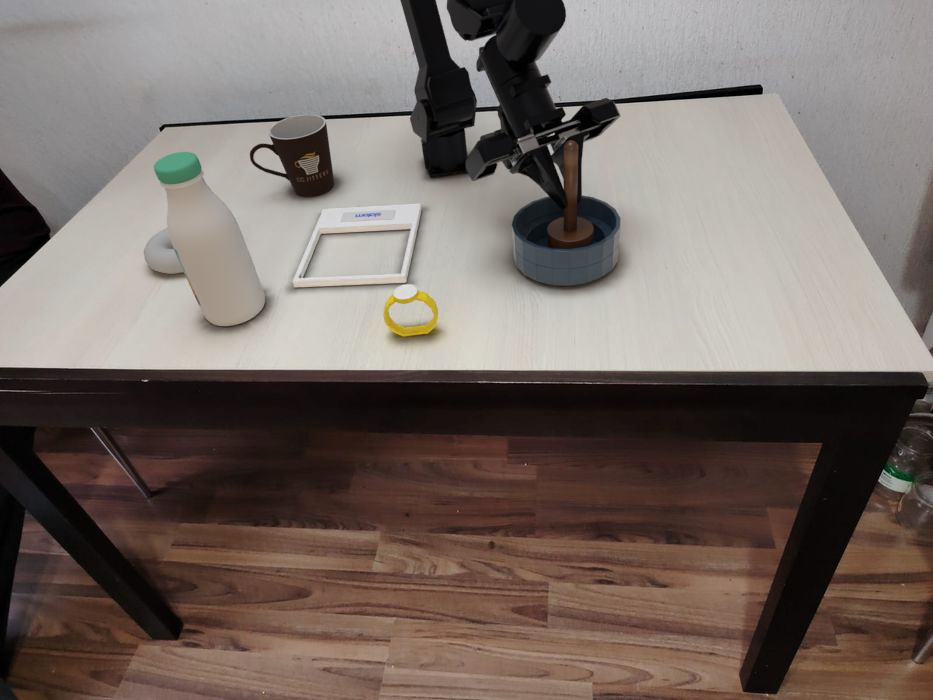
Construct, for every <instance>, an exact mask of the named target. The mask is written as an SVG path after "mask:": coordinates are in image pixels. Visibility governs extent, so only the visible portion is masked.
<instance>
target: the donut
mask: <svg viewBox="0 0 933 700" xmlns="http://www.w3.org/2000/svg"><path fill="white" fill-rule="evenodd" d="M143 257H144V261H145V263H146V265H148V266H149V268H151V269H152V270H154V271H155V272H159V273H162V274H166V275H167V274H169V275H170V274H171V275H173V274H174V275H175V274H181V273H184V271H183V269H182V267H181V265H180V262H179V260H178V258H177V256H176V253H175V251H174V248H173V246H172V243H171V241H170V237H169V234H168V228H167V227H166V228H164V229H162V230H160V231H158V232H157V233H155V234H154V235H152V236H151V237H150V239H148V240H147V242H146V244H145V246H144V249H143Z"/></svg>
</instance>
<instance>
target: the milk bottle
mask: <svg viewBox="0 0 933 700" xmlns="http://www.w3.org/2000/svg"><path fill="white" fill-rule="evenodd" d="M202 168H203V167H202V165H201V162H200V159H199V157H198V155H197V154H195V153H193V152H190V151H179V152H173V153H170V154H167V155H165V156H163V157H161V158H160V159H158V160H157V161H156V162H155V163H154V165H153V170H154V174H155V176H156V178H157V180H158V181H159V185H160V186H161V187H162V188H164V190H165V194H166V199H167V216H166V225H167V226H166V228H168V234H169V237H170V241H171V243H172V246H173V248H174V251H175V253H176V256H177V258H178V260H179V262H180V265H181V267H182V269H183V271H184V272H183V274H184V275H185V278H186V280H187V282H188V284H189V287H190V289H191V291H192V294H193V295H194V297H195V300H196V302H197V304H198V306H199V310H201V312H202V314H203V317H204V318H205V320H206V321H208V322H209V323H211V325H212V324H213V325H214V326H220V327H231V326H237V325H239V324H243V323H246V322H248V321H250V320H252V319H253V318H255V317H256V316H257V315H258V314H260V313H261V311H262V310H263V308H264V307H265V303H266V295H265V291H264V289H263V286H262V282H261V281H260V278H259V275H258V273H257V270H256V266H255V264H254V262H253V259H252V256H251V253H250V251H249V249H248V245H247V243H246V241H245V238H244V235H243V233H242V231H241V228H240V226H239V223H238V221H237V218H236V217H235V215H234V213H233V212H232V211H231V209H230V208H229V206H228V205H227V204H226V203H225V202H224V200H222V199H221V198H220V197H219V196H218V195H217V194H216V193H215V192H214V191H213V190H212V188H211V187H210V186H209V185H208V183H207V182H206V180H205V178H204V175H205V172H204V170H203V169H202Z"/></svg>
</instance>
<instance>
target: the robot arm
mask: <svg viewBox="0 0 933 700" xmlns="http://www.w3.org/2000/svg"><path fill="white" fill-rule="evenodd" d="M400 4H401V7H402V11H403V15H404V18H405V22H406V26H407V29H408V33H409V37H410V39H411V40H410V41H411V44H412V47H413V50H414V54H415V57H416V61H417V65H418V72H417V77H416V80H415V85H414V96H415V101H416V103H415V105H414V108H413V110H412V112H411V115H410V117H409V122H410V124H411V128H412V132H413V133H414V134H415V135H416V136H418V137H419V138H420V145H421V150H422V151H421V152H422V156H423V164H424V170H427V171H428V175H429V176H428V177H429V178H438V177H444V176H445V177H446V176H451V175H452V176H453V175H459V174H466V173H468V176H469V178H470V180H471V182H475V181H479V180H481V179H485V178H488V177H490V176H493V175H494V174H495V172H496V170H497V167H498V163H502V164H503V166H504V167H505V168H506V170H508V172H509V174H511V175H515V174H520V175H523V176H525V177H528V178H529V179H530V180H531V181H532V182H534V183H535V184H536V185H537V186H539V188H540V189H541V190H542V191H543V192H544V193H545V194H546V195H547V197H548V196H549V197H550V198H551V199H552V200H553V201H554V202H555V203H556V204H557V205H558V206H559V207H560V208H561V209H565V208H566V207H567V206H568V203H567V199H566V195H565V192H564V185H563V183H562V182H561V179H560V176H559V173H558V171H557V168H556V166H557V167H558V170H559V172H560V175H561V177H562V179H563V180H564V145H565V143H566V142H567V141H570V140H572V141H575V142H576V143H577V144H578V193H577V204H578V203H579V202H581V200H582V195H583V193H582V192H583V191H582V188H583V183H582V182H583V181H582V179H583V177H582V176H583V175H582V172H583V171H582V166H583V165H582V163H583V153H584V143H586V142H588V141H591V140H594V139H596V138H598V137H600V136H601V135H603V134H604V133H605V132H606V131H607V130H608V129H609V128H610V127H611V126H612V125H613V124H614V123H615V122H616V121H617V120H618V119H619V118H620V117H621V114H620V111H619V109H618V107H617V105H616V103H615V102H614V100H612V99H609V98H607V97H605V98H601V99H599V100H596V101H592V102H590V103H589V102H588V103H587V104H583V105H582V106H581V107H580V108H579V109H578V111H577V112H576V113H575V114H574V115H572V117H571V118H570V119H568V120H565V121H562V120H563V119H564V118H565V117H566V115H567V113H566V111H565V109H564V107H563V106H560V107H558V108H557V107H556V105H555V103H554V100H553V97H552V96H551V93H550V92H549V89H548V88H549V87H550V85H551V84H552V81H551V78H550V76H549V74H548V73H547V74H544V75H542V73H541V71H540V69H539V66H538V65H537V61H538V60H540V59H541V58H542V57H543V56H544V54H545V52H546V51H547V50H548V48H549V47H550V45H551V44H552V43H553V41H554V40H555V38H556V37H557V36H558V34H559V32H560V31H561V30H562V28H563V26H564V24H565V22H566V17H567V9H566V6H565V3H564V1H563V0H446V11H447V13H448V15H449V18H450V22H451V25H452V27H453V29H454V31H455V33H457V34H458V35H459V37H460V38H461V39H462V40H463V41H468V42H472V41H476V40H477V41H478V40H480V39H484V38H487V37H490V38H488V40H487V41H486V42H485V44H484V45H483V46H480V47H479V48H478V57H477V60H476V64H475V65H476V71H477V72H478V73H482V72H485V74H486V76H487V78H488V81H489V83H490V85H491V88H492V90H493V93H494V95H495V96H496V99H497V102H498V103H499V104H498V106H497V108H496V111H497V116H498V119H499V122H500V123H499V124H500V128H499V129H497V130H494V131H492V132H489V133H486V134H483V135H480V137H479V140H478V141H476V143H475V145H473V147H472V149H470V150H471V151H470V152H469V154H468V148H467V147H468V146H467V138H466V137H467V136H466V129H468V128H473V127H475V124H476V114H477V106H478V105H477V104H478V99H477V96H476V93H475V90H474V88H473V87H472V84H471V83H472V82H471V78H470V73H469V71H468V70H467V68H466V67H465V66H463V67H460V66H459V65H458V64H457V63H456V62H455V61H454V59H452V57H451V53H450V49H449V46H448V41H447V38H446V37H447V36H446V34H445V30H444V26H443V23H442V19H441V15H440V11H439V7H438V3H437V0H400ZM548 146H550V147H551V149H552V151H553V152H552V153H551V151H550V149H549V147H548Z"/></svg>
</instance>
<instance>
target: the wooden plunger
mask: <svg viewBox="0 0 933 700" xmlns="http://www.w3.org/2000/svg"><path fill="white" fill-rule="evenodd" d="M563 189H564V192H565V195H566V199H567V203H568V206H567V207H566V208H565V209H564V217H562V218H559V219H556V220H554V221H552V222H551V223H550V224H549V225H548V227H547V248H552V249H574V248H581V247H587V246H589V245H592V244H593V234H594V227H593V225H592V223H591V222H589V221H588V220H586V219H584V218H580V217H577V193H578V144H577V143H576V142H575V141H572V140H570V141H567V142H566V143H565V145H564V179H563Z"/></svg>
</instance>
